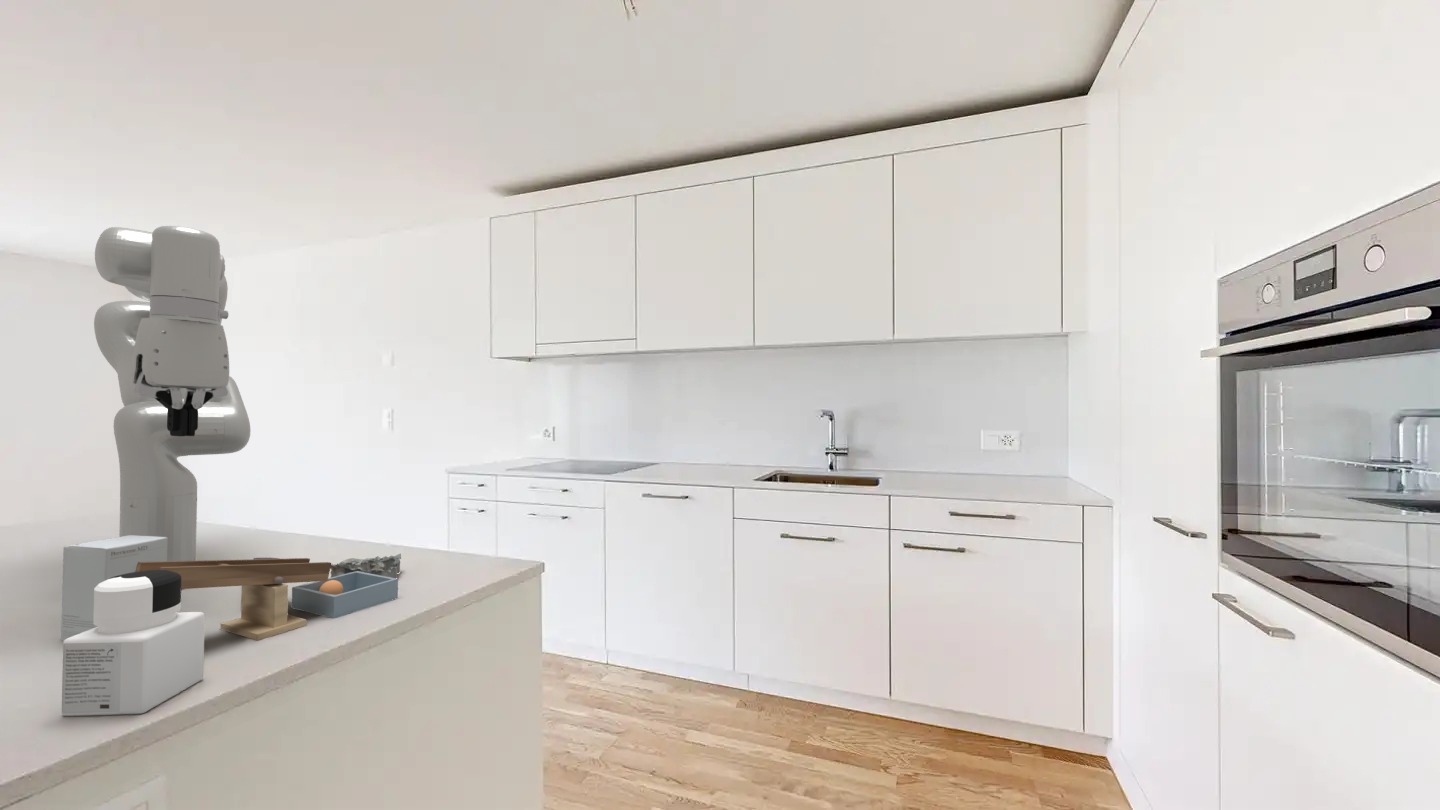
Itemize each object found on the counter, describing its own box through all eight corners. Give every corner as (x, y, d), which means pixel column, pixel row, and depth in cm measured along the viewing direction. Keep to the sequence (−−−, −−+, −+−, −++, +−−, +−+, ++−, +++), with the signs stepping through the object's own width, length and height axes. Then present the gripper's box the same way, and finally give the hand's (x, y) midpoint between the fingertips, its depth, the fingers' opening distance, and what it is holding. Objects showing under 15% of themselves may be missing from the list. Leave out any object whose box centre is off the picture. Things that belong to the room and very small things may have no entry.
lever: (94, 573, 75) (100, 552, 75) (271, 567, 93) (275, 550, 94) (160, 591, 68) (166, 568, 68) (337, 581, 86) (341, 563, 87)
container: (131, 681, 65) (134, 565, 65) (205, 679, 65) (207, 564, 65) (58, 717, 57) (61, 586, 57) (143, 715, 58) (145, 585, 58)
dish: (291, 610, 89) (292, 587, 89) (356, 591, 98) (357, 571, 98) (333, 620, 85) (334, 596, 85) (397, 600, 94) (398, 578, 94)
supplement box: (102, 647, 74) (104, 548, 74) (58, 642, 75) (60, 545, 75) (167, 626, 81) (169, 536, 81) (127, 622, 82) (128, 533, 82)
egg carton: (325, 589, 99) (325, 565, 99) (338, 576, 106) (339, 554, 106) (395, 583, 102) (395, 560, 102) (404, 571, 110) (404, 550, 110)
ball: (331, 582, 94) (349, 579, 93) (328, 602, 93) (347, 599, 92) (315, 581, 91) (333, 578, 90) (312, 602, 90) (331, 599, 89)
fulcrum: (220, 629, 80) (221, 584, 80) (269, 615, 85) (269, 573, 85) (257, 640, 76) (258, 593, 76) (306, 625, 82) (306, 581, 82)
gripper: (229, 321, 94) (226, 433, 94) (103, 305, 80) (100, 436, 80) (257, 319, 91) (254, 434, 91) (131, 303, 78) (128, 439, 78)
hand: (182, 435), depth 86 cm, fingers closed
